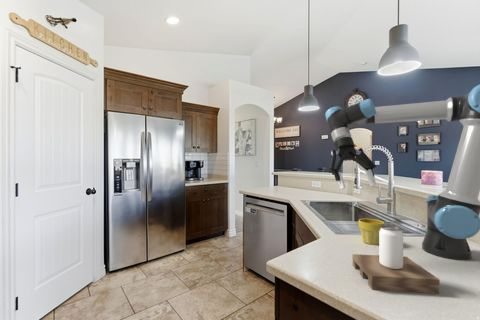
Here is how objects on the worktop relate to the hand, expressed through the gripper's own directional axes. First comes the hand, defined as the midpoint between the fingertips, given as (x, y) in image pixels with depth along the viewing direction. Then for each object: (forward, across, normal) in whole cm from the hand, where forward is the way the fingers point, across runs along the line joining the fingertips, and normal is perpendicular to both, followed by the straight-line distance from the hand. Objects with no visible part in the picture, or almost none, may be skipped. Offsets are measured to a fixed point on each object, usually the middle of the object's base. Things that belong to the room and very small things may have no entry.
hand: (358, 187), depth 94 cm
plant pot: (+21, -13, -22) cm, 33 cm away
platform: (+32, +4, +6) cm, 33 cm away
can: (+28, +4, +8) cm, 30 cm away
